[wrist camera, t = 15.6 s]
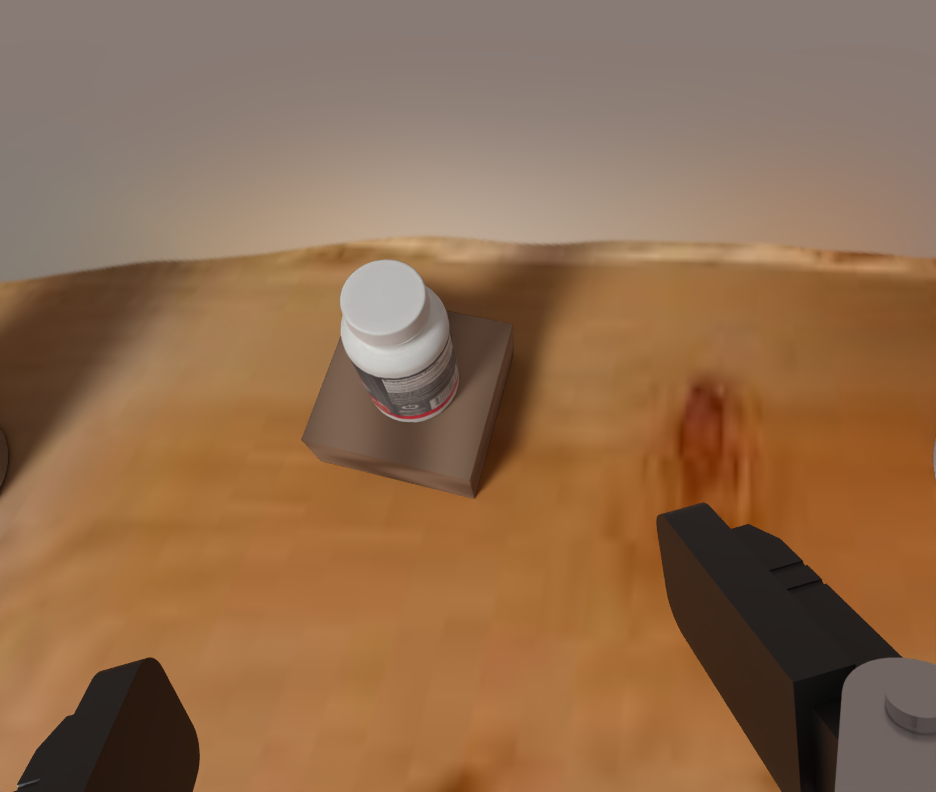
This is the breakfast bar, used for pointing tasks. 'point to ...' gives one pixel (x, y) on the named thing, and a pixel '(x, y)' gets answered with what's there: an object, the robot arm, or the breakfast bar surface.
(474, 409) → the walnut base
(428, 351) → the pill bottle
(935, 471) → the grey pole stand
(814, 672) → the robot arm
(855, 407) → the breakfast bar surface
